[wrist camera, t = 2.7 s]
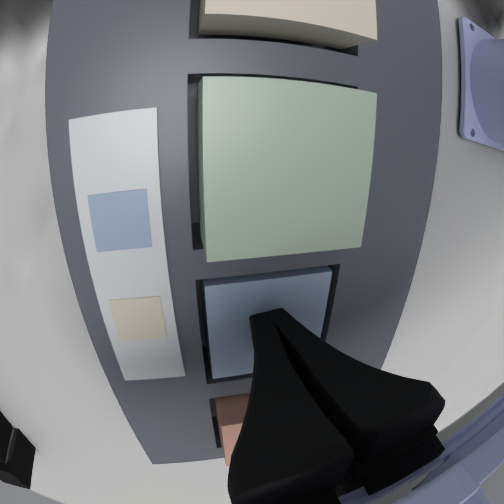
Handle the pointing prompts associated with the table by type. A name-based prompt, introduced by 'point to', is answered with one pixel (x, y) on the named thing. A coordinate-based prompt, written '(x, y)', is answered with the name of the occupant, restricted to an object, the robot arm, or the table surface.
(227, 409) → the terracotta key
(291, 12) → the sand key
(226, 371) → the slate key
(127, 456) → the table surface
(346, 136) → the sage key
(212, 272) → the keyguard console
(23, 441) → the book
